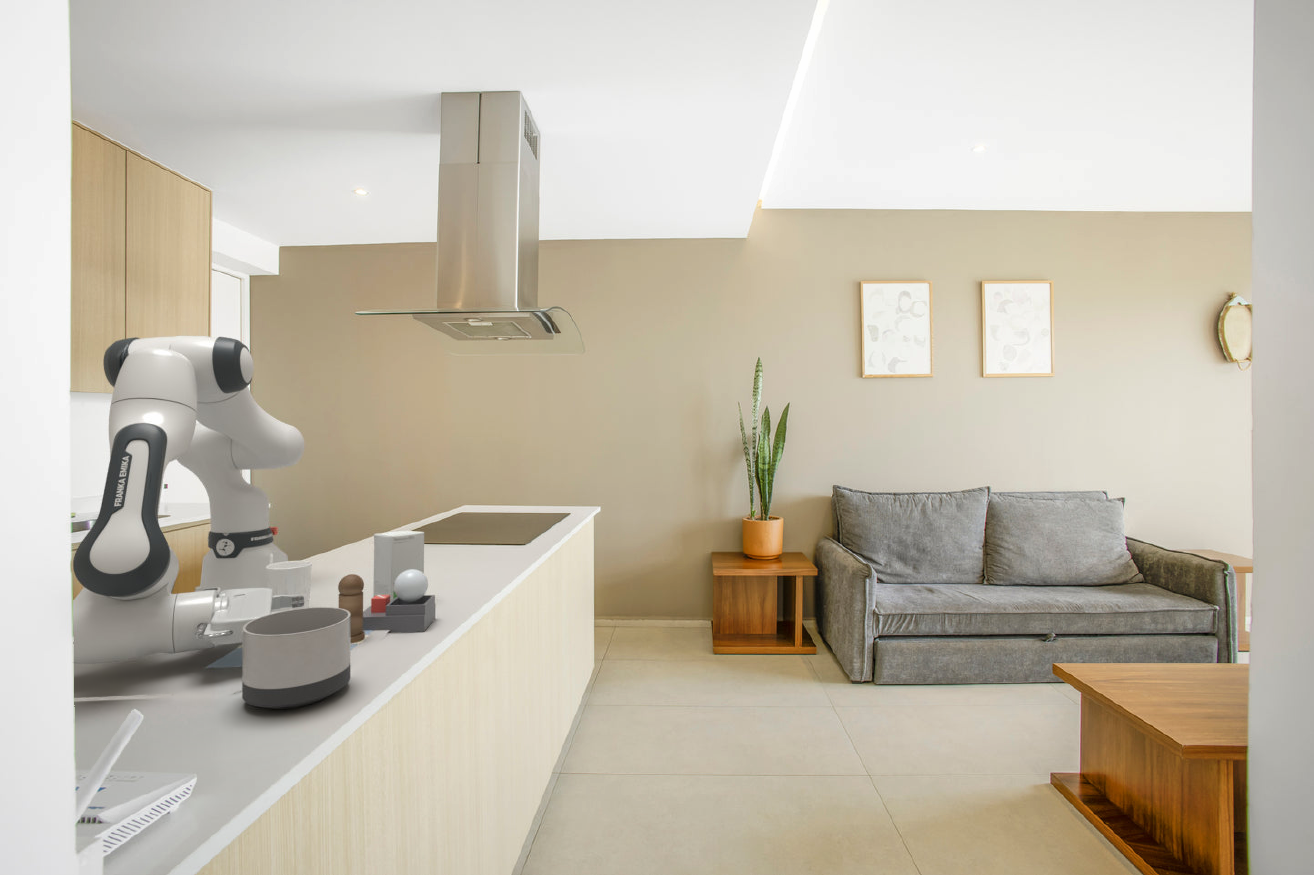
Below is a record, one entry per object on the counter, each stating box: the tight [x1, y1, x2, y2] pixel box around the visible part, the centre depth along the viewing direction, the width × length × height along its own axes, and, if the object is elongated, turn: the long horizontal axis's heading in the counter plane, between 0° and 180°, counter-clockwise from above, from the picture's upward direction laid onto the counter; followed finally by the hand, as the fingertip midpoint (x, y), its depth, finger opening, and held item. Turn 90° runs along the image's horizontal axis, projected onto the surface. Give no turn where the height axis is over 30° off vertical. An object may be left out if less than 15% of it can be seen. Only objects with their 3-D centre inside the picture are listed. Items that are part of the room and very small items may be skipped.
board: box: [204, 630, 374, 669], centre depth 100 cm, size 16×20×1 cm
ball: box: [394, 569, 429, 602], centre depth 113 cm, size 6×6×6 cm
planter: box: [241, 606, 352, 710], centre depth 83 cm, size 13×13×10 cm
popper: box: [363, 594, 436, 634], centre depth 113 cm, size 8×12×6 cm, turn 97°
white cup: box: [266, 560, 313, 612], centre depth 120 cm, size 8×8×10 cm
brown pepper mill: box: [337, 573, 365, 643], centre depth 103 cm, size 4×4×11 cm
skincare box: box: [372, 530, 425, 602], centre depth 126 cm, size 8×7×16 cm
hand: (304, 606), depth 100 cm, fingers open, 8 cm apart
